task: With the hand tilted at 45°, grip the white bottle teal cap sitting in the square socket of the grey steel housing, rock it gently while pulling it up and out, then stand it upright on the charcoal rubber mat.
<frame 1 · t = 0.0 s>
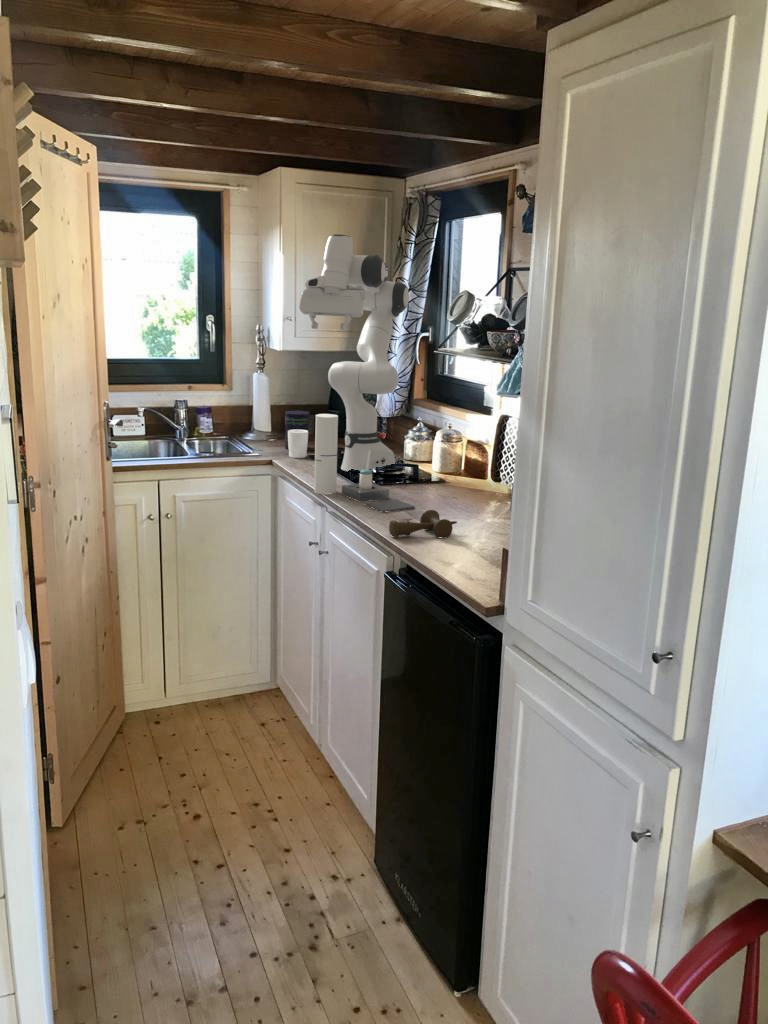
hand: (328, 329, 260), 52 cm above the counter, tool tilted 20°, fingers open, 8 cm apart
white bottle teal cap: (365, 483, 269), in the housing
mat: (389, 506, 259), on the counter
white cup: (297, 456, 327), on the counter
kendama: (424, 536, 231), on the counter
storage jar: (296, 449, 342), on the counter
housing: (365, 496, 270), on the counter
cylindrical container: (325, 492, 274), on the counter
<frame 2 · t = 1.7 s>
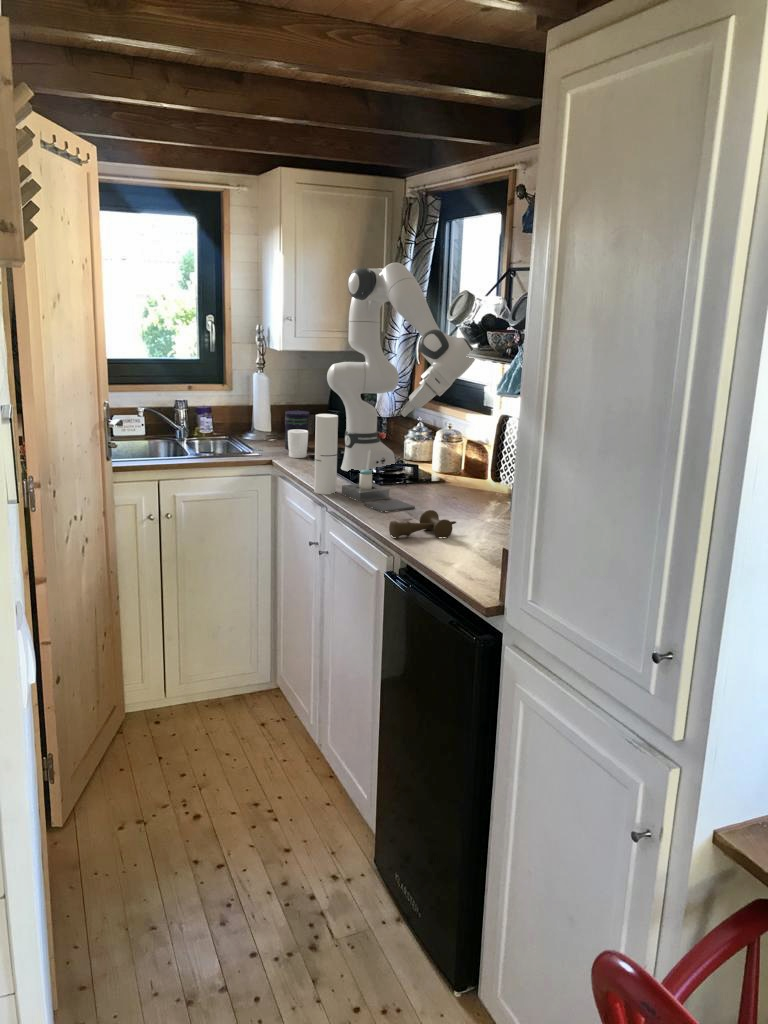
hand: (402, 413, 263), 27 cm above the counter, tool tilted 45°, fingers open, 8 cm apart
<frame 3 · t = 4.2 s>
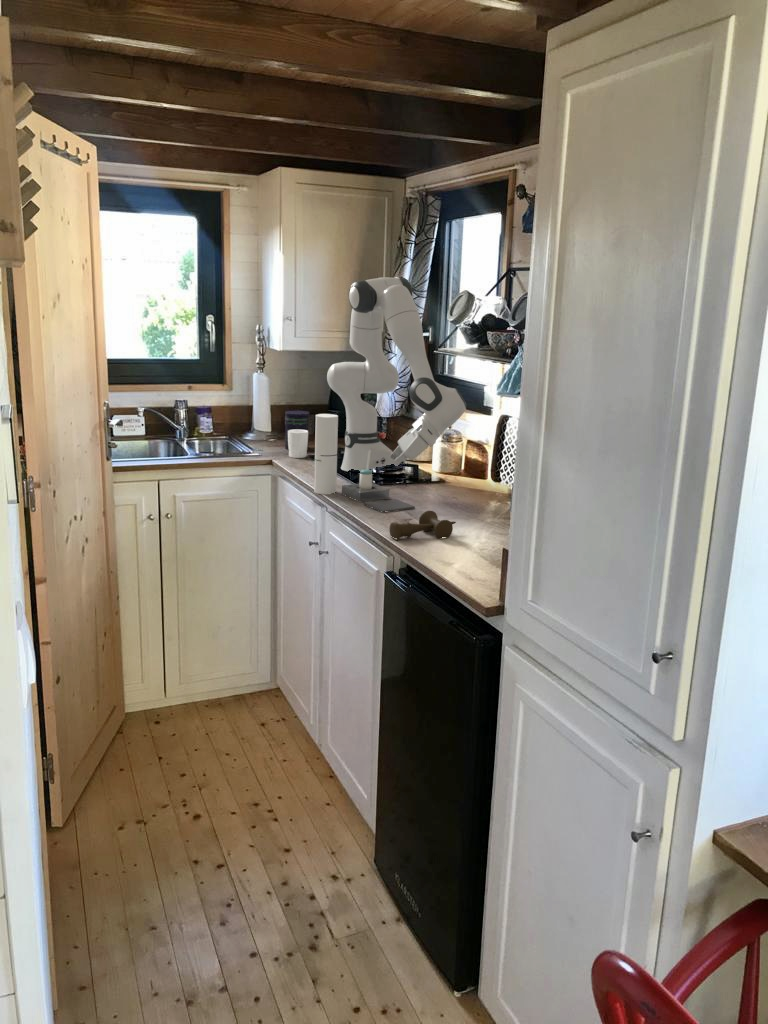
hand: (392, 461, 268), 12 cm above the counter, tool tilted 45°, fingers open, 8 cm apart
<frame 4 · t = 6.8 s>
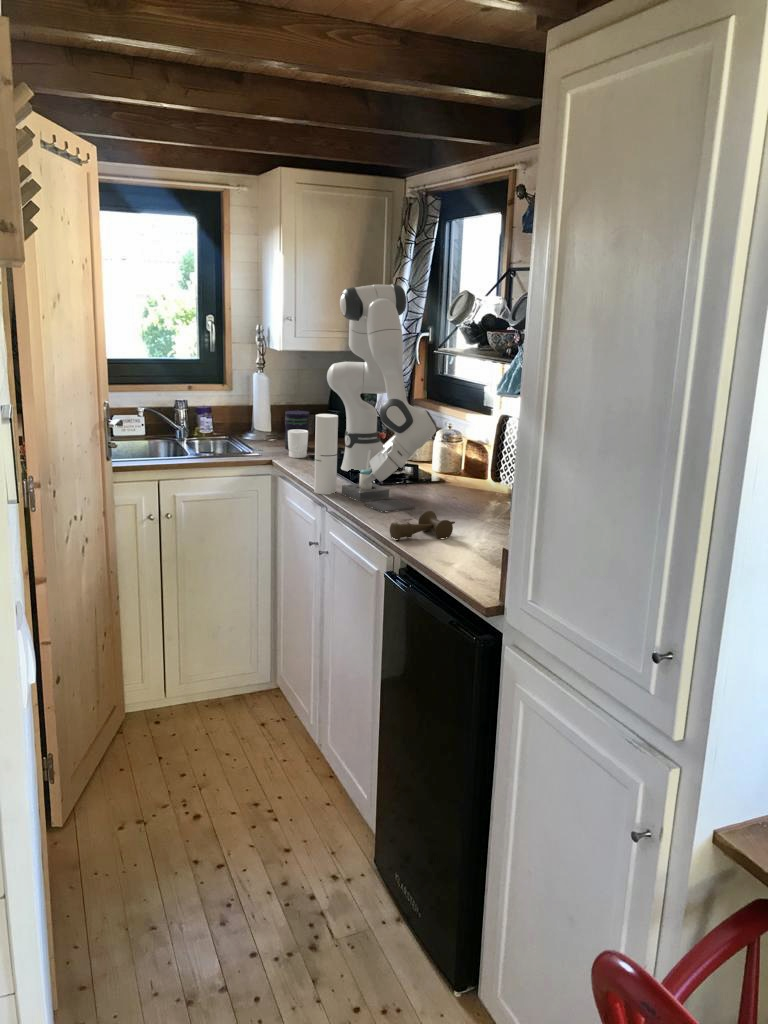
hand: (363, 481, 269), 5 cm above the counter, tool tilted 45°, fingers closed on white bottle teal cap, 4 cm apart
white bottle teal cap: (365, 483, 269), in the housing, touching gripper
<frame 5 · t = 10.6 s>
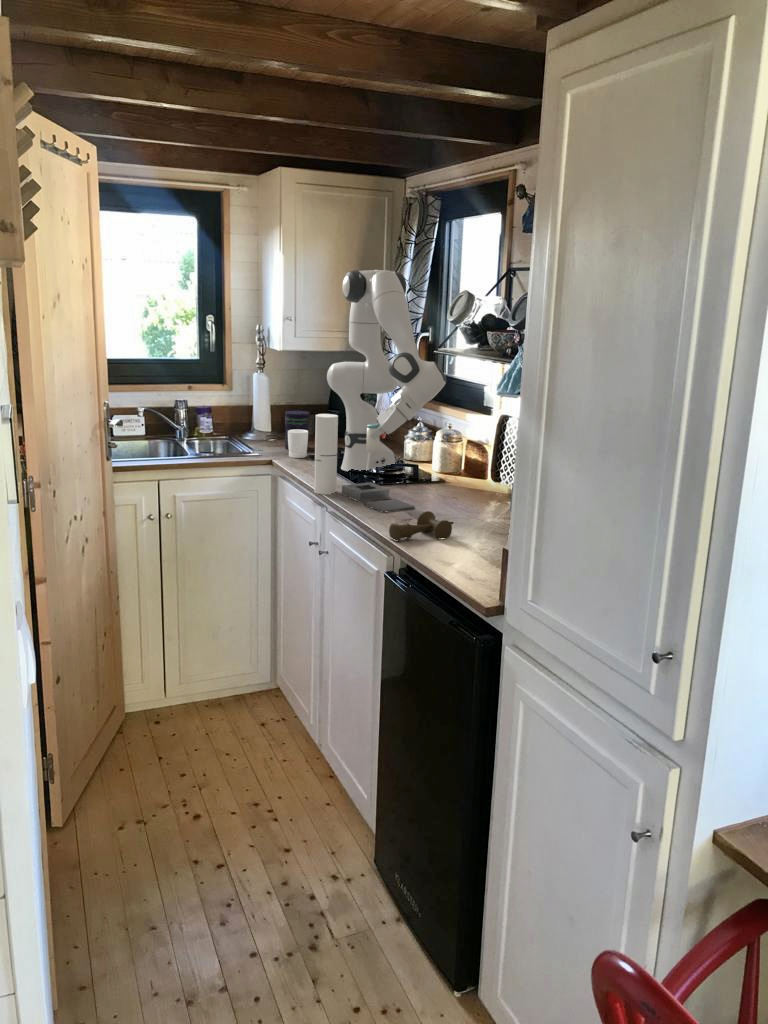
hand: (371, 436, 262), 20 cm above the counter, tool tilted 45°, fingers closed on white bottle teal cap, 4 cm apart
white bottle teal cap: (372, 438, 262), point 20 cm above the counter, touching gripper
when the fingers open (7 cm above the counter, at t = 14.6 s): white bottle teal cap drops 1 cm, resting on mat.
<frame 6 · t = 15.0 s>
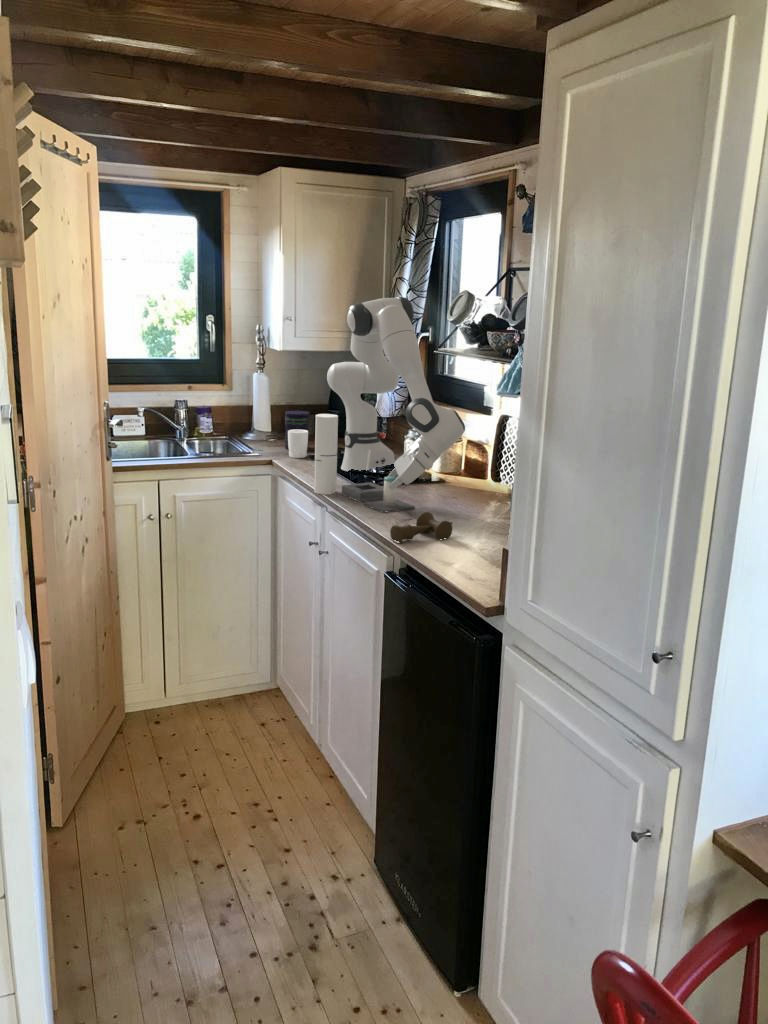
hand: (388, 484, 257), 7 cm above the counter, tool tilted 45°, fingers open, 8 cm apart
white bottle teal cap: (390, 491, 258), on the mat, point 5 cm above the counter
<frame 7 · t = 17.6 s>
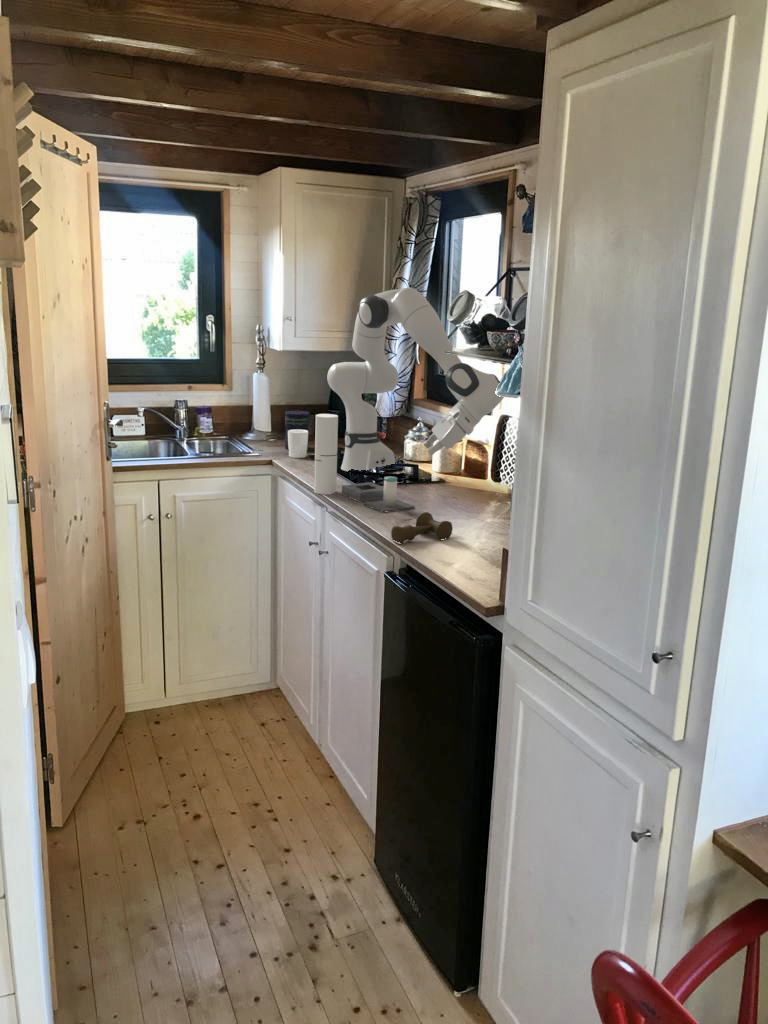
hand: (427, 449, 257), 18 cm above the counter, tool tilted 45°, fingers open, 8 cm apart
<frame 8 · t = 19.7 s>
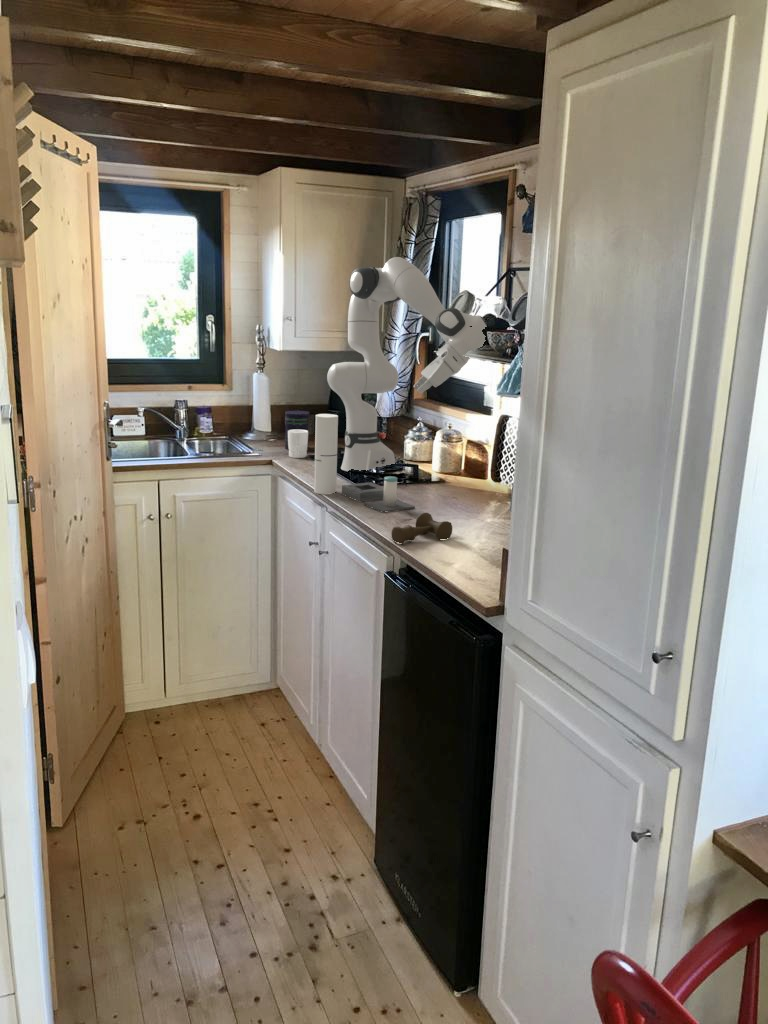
hand: (416, 390, 263), 34 cm above the counter, tool tilted 45°, fingers open, 8 cm apart
at the end: white bottle teal cap inside the target area on the mat (0.1 cm from its centre), point 4.8 cm above the mat's base; white bottle teal cap tilted 0°; the gripper is holding nothing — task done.
